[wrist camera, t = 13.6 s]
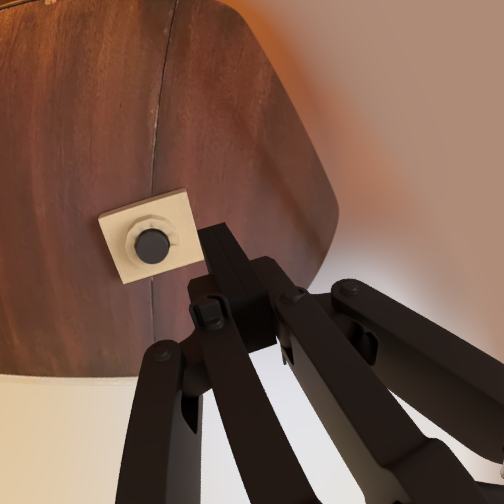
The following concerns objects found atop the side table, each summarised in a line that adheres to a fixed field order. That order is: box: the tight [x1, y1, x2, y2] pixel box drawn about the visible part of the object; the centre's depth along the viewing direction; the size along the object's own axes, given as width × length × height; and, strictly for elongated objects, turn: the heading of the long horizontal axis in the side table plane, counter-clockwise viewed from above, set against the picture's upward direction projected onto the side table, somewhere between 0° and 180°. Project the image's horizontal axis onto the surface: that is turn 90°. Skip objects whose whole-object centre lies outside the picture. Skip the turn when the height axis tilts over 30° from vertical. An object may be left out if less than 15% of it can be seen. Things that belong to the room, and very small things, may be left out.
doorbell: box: [98, 188, 204, 284], centre depth 39 cm, size 12×10×4 cm
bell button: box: [136, 230, 168, 264], centre depth 37 cm, size 4×4×2 cm
